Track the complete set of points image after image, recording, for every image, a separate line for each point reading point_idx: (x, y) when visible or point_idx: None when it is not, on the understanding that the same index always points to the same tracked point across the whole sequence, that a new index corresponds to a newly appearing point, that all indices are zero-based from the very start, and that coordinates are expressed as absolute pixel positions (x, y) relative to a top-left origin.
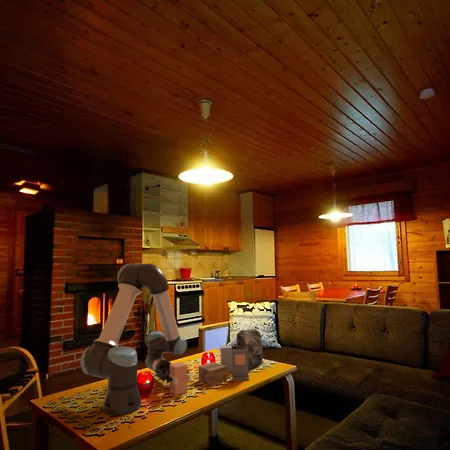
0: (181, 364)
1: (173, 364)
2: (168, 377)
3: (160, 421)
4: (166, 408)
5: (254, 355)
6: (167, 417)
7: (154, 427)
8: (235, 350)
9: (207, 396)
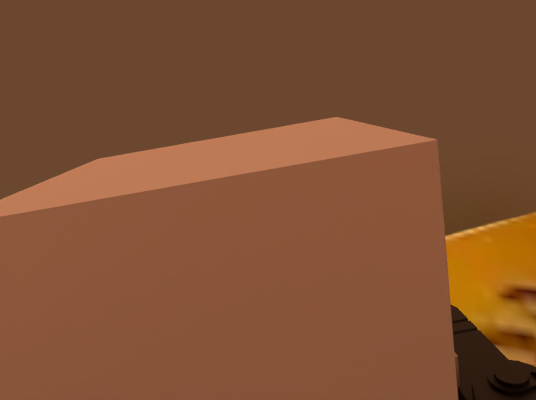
0: (142, 161)
1: (306, 148)
2: (486, 338)
3: (510, 234)
4: (490, 308)
5: None
6: (473, 249)
7: (532, 215)
8: None
9: None
